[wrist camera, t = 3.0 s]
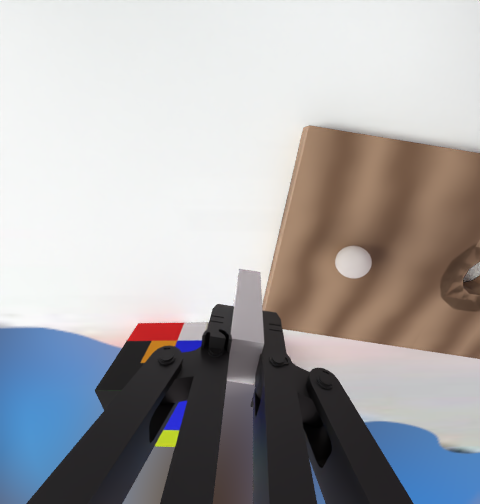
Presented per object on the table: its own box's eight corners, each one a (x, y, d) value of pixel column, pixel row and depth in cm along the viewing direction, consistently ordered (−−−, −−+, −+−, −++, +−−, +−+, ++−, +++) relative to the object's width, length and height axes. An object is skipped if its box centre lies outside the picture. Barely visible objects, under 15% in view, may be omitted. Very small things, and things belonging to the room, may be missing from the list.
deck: (260, 312, 31) (261, 325, 28) (303, 127, 22) (309, 125, 19) (479, 345, 31) (497, 361, 29) (612, 178, 22) (653, 181, 20)
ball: (336, 238, 23) (348, 251, 20) (367, 243, 23) (383, 257, 20) (327, 266, 25) (337, 281, 22) (356, 270, 25) (370, 287, 22)
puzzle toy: (207, 322, 32) (189, 391, 23) (215, 372, 36) (202, 447, 27) (138, 323, 33) (94, 390, 24) (153, 372, 37) (121, 445, 28)
